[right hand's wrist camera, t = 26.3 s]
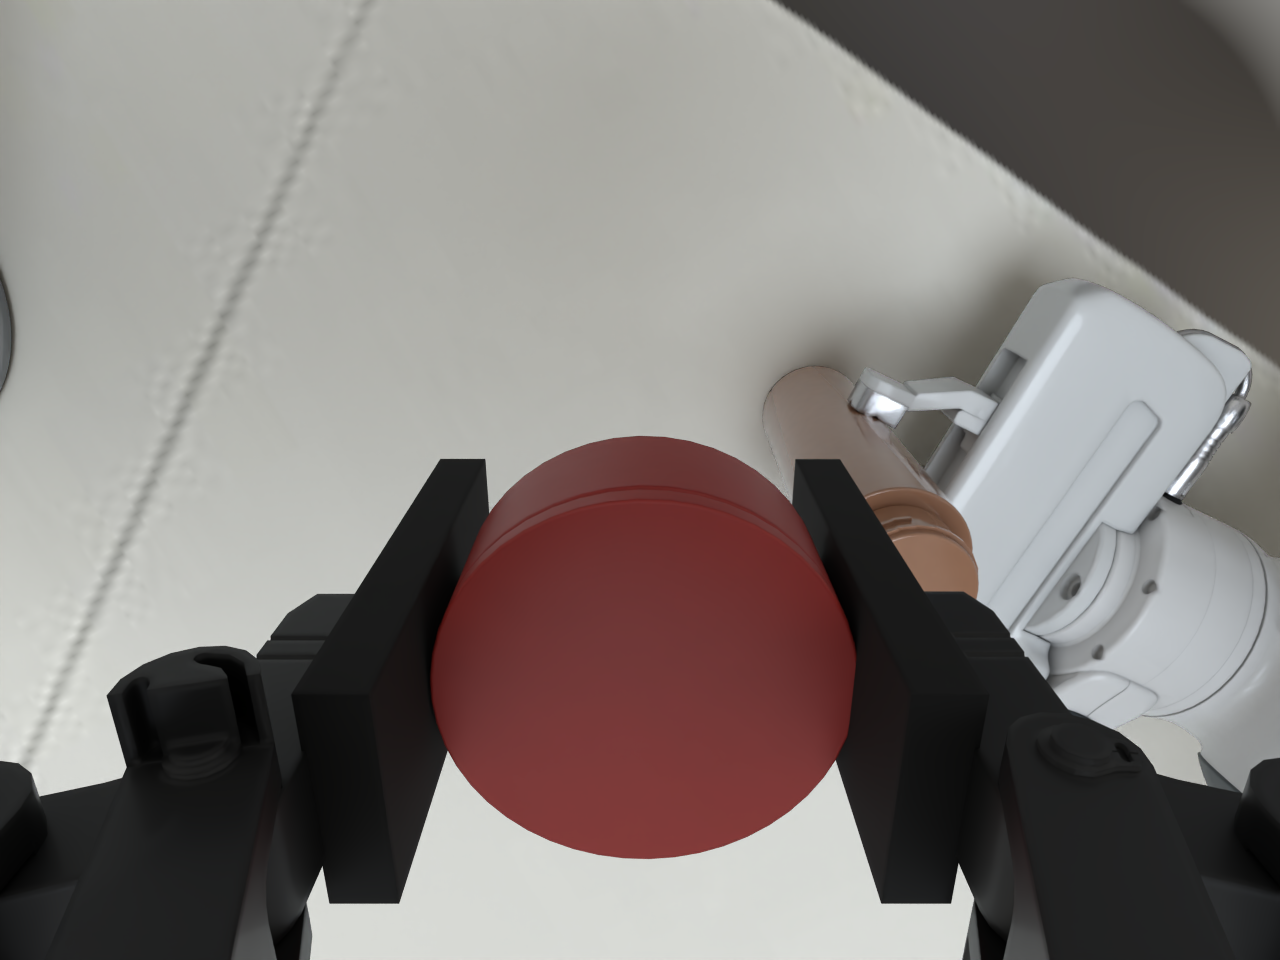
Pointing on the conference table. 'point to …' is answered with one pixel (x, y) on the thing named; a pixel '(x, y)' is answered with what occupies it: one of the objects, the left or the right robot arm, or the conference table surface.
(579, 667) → the lid
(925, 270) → the conference table surface
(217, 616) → the conference table surface
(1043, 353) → the left robot arm
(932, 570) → the jar
